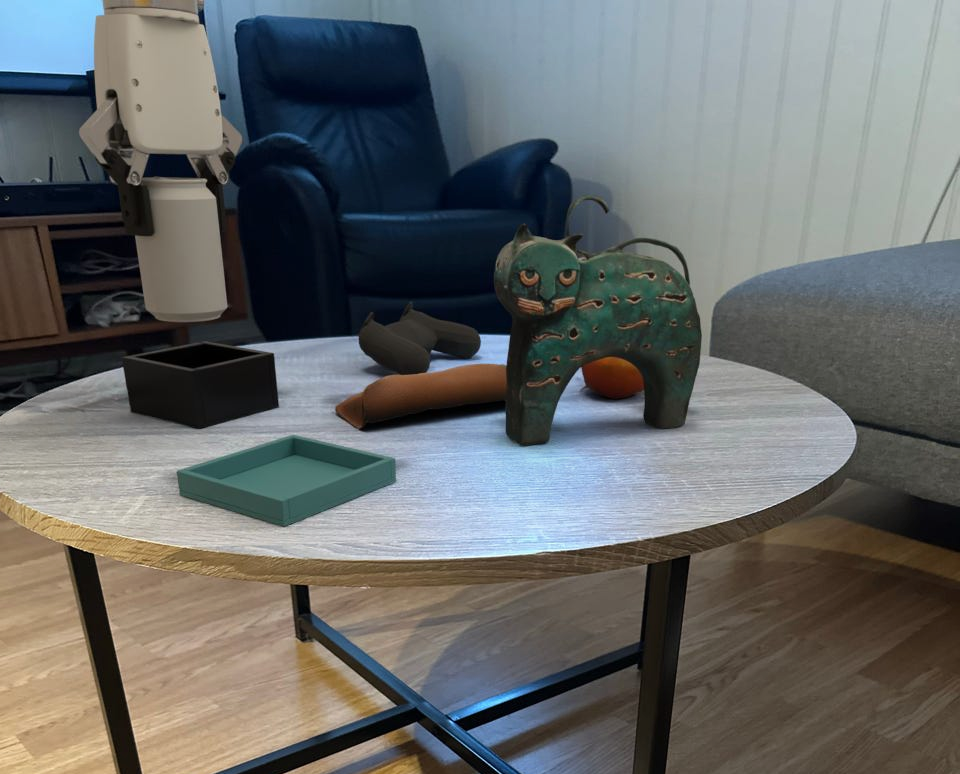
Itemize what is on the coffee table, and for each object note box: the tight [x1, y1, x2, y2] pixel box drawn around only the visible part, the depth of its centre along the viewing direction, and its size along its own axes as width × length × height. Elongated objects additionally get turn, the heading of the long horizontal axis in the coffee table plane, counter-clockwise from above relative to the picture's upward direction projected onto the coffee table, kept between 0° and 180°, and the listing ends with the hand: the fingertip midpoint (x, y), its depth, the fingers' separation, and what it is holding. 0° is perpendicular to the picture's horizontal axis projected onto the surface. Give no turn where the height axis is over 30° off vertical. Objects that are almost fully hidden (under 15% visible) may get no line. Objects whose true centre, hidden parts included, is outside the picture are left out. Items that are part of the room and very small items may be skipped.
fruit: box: [579, 357, 644, 400], centre depth 99 cm, size 8×8×8 cm
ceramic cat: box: [493, 194, 703, 447], centre depth 82 cm, size 20×6×20 cm, turn 112°
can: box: [134, 176, 228, 323], centre depth 86 cm, size 8×8×12 cm
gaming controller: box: [358, 301, 482, 375], centre depth 111 cm, size 17×6×10 cm
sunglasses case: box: [334, 363, 507, 430], centre depth 92 cm, size 18×7×7 cm
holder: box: [121, 340, 280, 430], centre depth 92 cm, size 10×10×5 cm
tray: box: [176, 434, 397, 527], centre depth 72 cm, size 12×11×2 cm
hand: (177, 231), depth 85 cm, fingers closed on can, 7 cm apart
